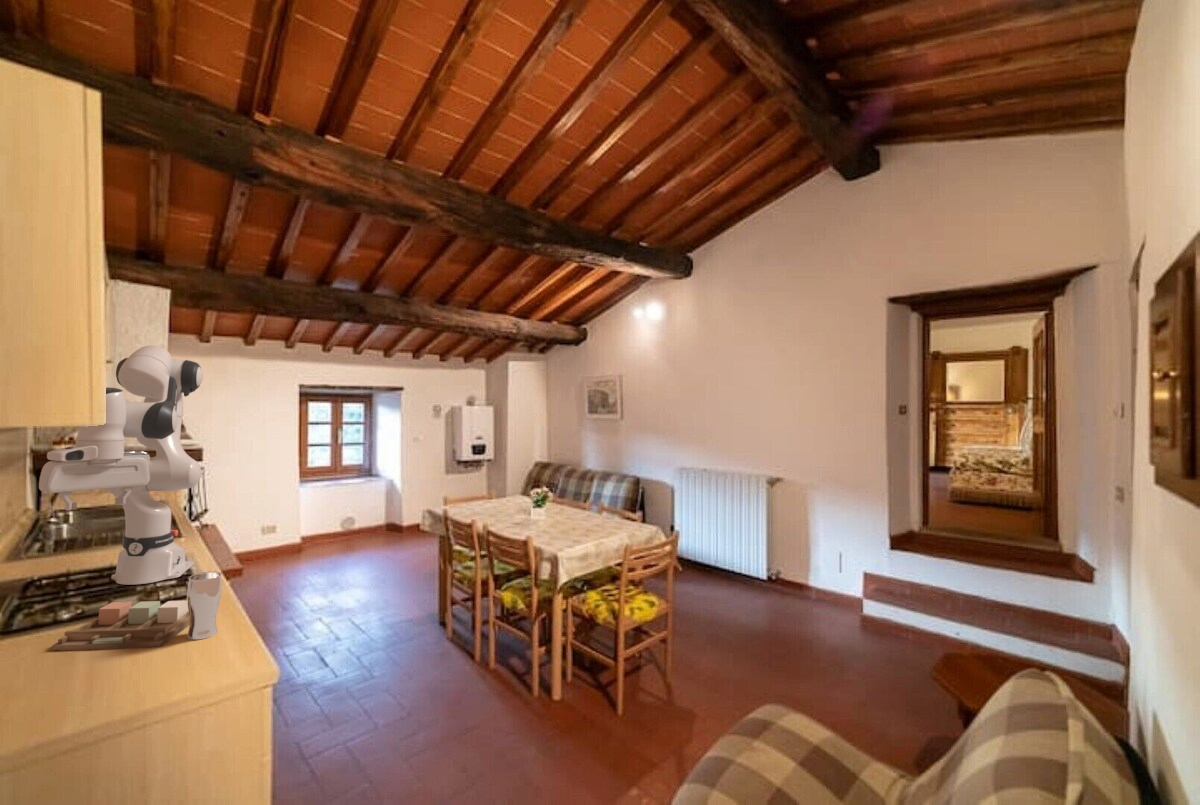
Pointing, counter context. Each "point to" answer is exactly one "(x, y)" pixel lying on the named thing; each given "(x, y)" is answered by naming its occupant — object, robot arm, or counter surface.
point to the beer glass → (203, 604)
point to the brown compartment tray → (121, 635)
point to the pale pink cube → (171, 611)
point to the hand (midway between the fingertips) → (96, 507)
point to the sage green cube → (143, 612)
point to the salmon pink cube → (113, 612)
